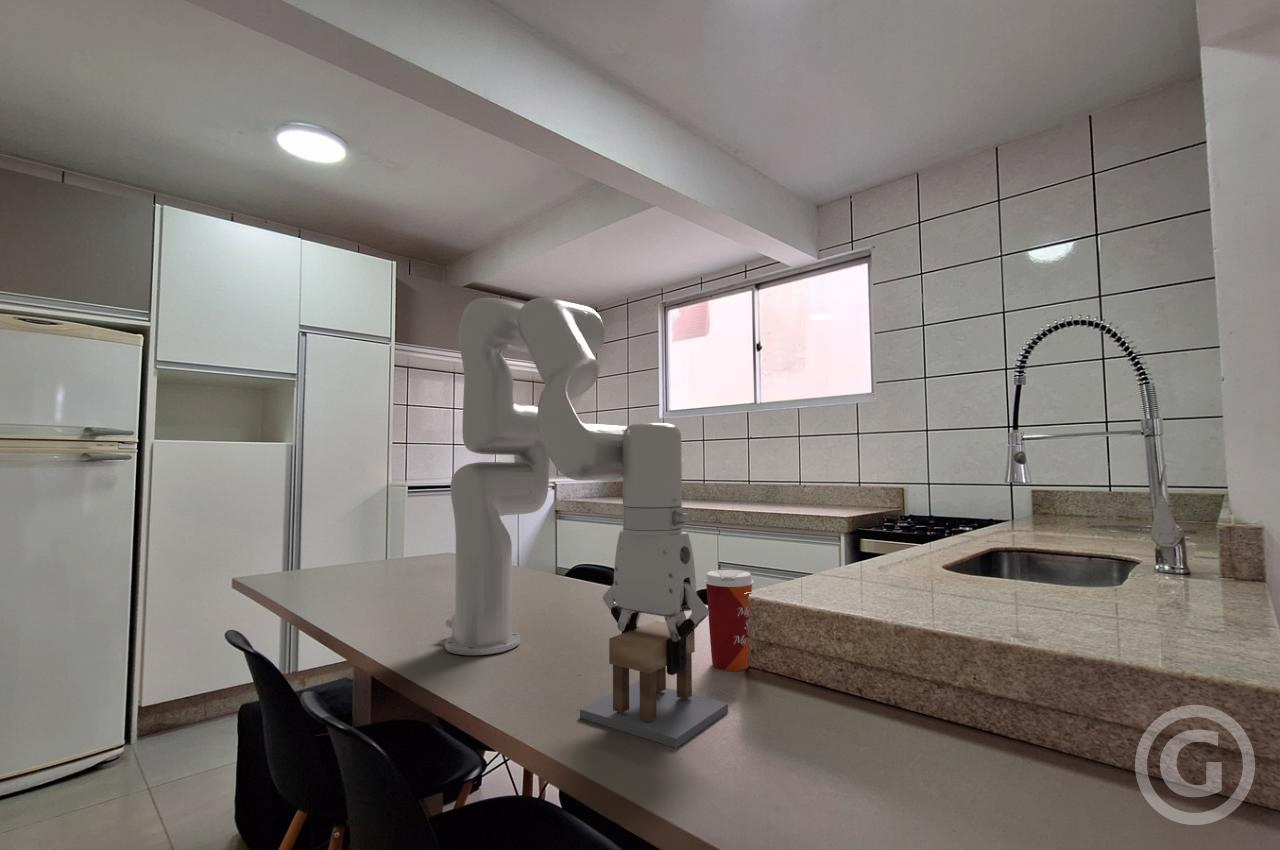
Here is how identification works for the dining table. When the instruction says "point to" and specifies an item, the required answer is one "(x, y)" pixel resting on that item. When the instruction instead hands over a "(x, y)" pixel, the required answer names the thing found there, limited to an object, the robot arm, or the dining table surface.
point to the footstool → (646, 666)
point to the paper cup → (729, 618)
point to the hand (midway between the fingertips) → (653, 665)
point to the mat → (658, 715)
